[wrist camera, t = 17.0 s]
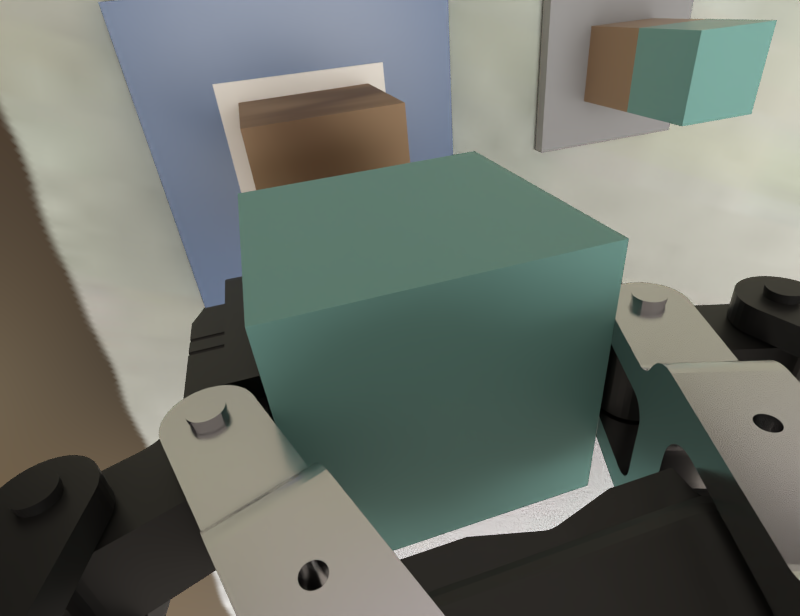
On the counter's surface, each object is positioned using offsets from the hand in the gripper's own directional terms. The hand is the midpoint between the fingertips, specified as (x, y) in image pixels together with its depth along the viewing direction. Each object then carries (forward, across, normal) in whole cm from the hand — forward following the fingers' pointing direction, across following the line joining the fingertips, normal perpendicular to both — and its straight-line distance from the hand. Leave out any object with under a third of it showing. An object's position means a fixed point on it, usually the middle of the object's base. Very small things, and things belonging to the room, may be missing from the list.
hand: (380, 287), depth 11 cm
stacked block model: (+12, -14, -2) cm, 19 cm away
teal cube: (0, 0, 0) cm, 0 cm away
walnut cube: (+11, 0, 0) cm, 11 cm away
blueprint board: (+12, 0, 0) cm, 12 cm away
